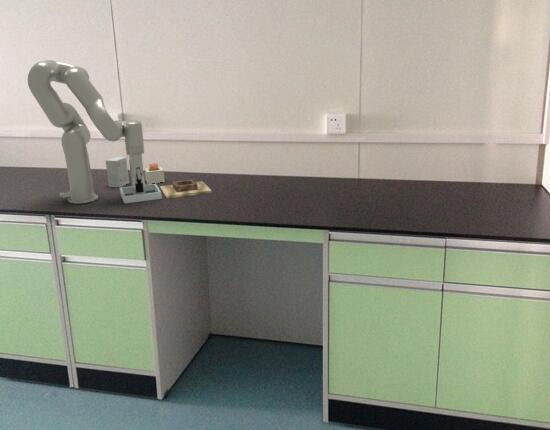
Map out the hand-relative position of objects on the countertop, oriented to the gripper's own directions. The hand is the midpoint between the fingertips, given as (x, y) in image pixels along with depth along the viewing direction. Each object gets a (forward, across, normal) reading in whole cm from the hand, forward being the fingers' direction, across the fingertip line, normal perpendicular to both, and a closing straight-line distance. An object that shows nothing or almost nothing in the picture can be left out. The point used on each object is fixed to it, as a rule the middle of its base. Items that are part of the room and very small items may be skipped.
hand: (139, 190), depth 243 cm
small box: (+3, -25, -6) cm, 26 cm away
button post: (+3, -24, +10) cm, 26 cm away
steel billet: (+3, 0, 0) cm, 3 cm away
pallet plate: (+3, 0, +20) cm, 21 cm away
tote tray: (+3, 0, 0) cm, 3 cm away
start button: (-3, -24, +10) cm, 26 cm away
